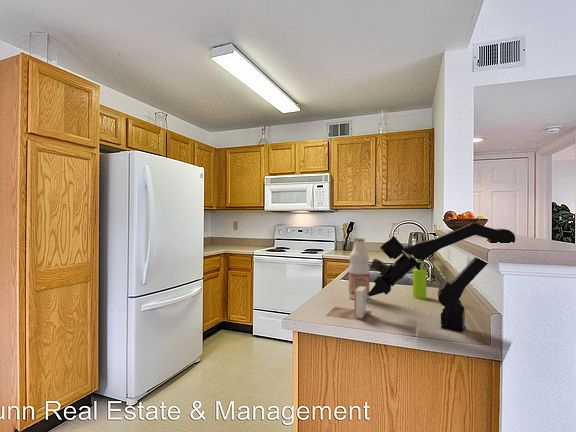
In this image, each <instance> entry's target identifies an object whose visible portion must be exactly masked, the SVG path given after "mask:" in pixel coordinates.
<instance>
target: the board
mask: <svg viewBox="0 0 576 432" xmlns="http://www.w3.org/2000/svg"><path fill="white" fill-rule="evenodd" d="M371 313H372V310H371V311H370V310H366V314H365V315H364V317H363V318H356V317H354V308H346V307H340V306H339V307H338V306H334V307H333V308H332V309H331V310H330V311H329V312H328V313H327V314H326V315H325V317H332V318H339V319H346V320H347V319H348V320H355V321H361V322H367V320H368V318H369V317H370V315H371Z"/></svg>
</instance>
